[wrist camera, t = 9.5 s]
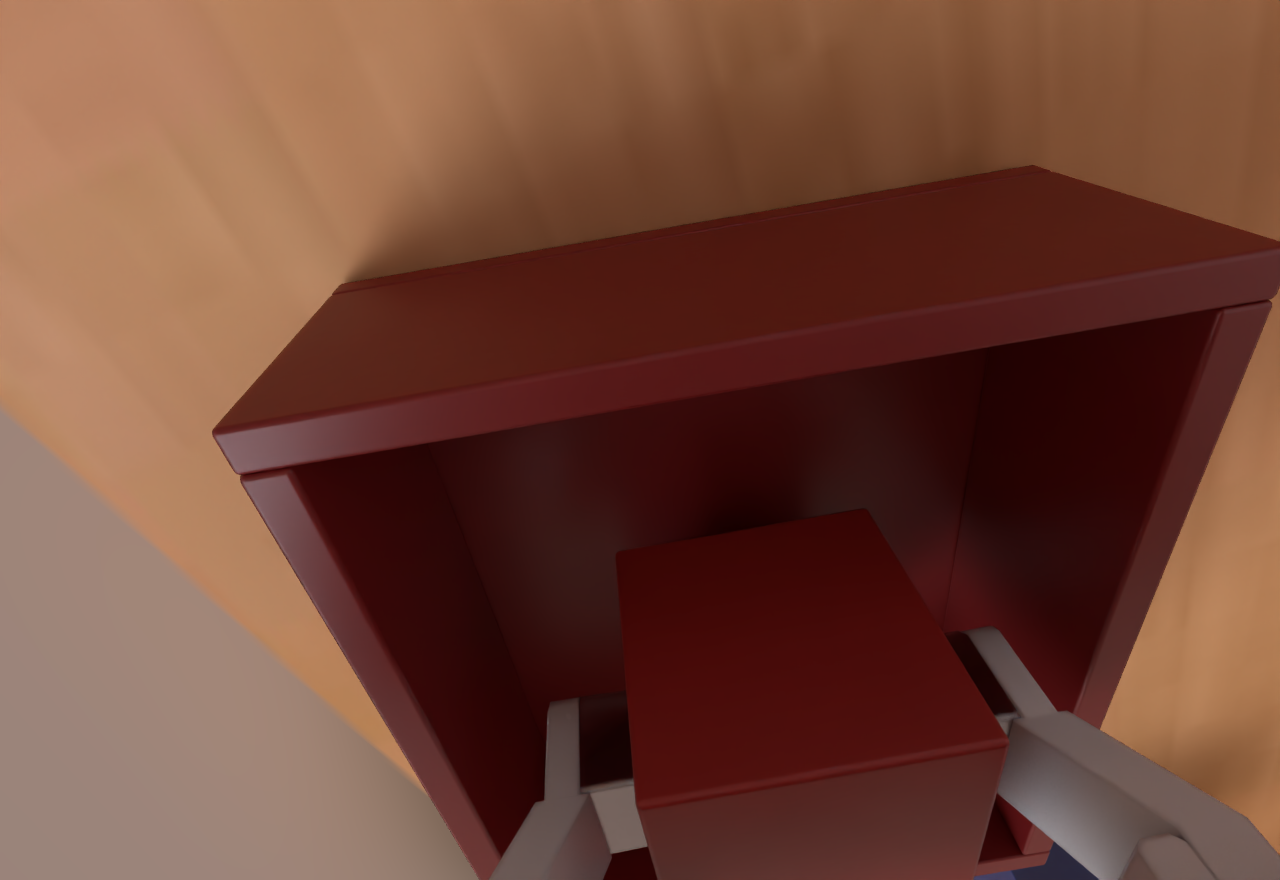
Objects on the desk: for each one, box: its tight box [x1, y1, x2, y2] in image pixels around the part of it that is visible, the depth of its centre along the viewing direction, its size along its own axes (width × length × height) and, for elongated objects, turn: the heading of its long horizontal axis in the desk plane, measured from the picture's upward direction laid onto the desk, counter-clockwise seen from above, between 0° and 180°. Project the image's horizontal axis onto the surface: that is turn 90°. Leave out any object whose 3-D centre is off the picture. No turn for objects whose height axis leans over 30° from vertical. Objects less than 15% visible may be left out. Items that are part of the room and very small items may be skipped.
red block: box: [615, 508, 1010, 880], centre depth 11 cm, size 4×4×4 cm
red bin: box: [212, 165, 1280, 880], centre depth 12 cm, size 13×11×4 cm
